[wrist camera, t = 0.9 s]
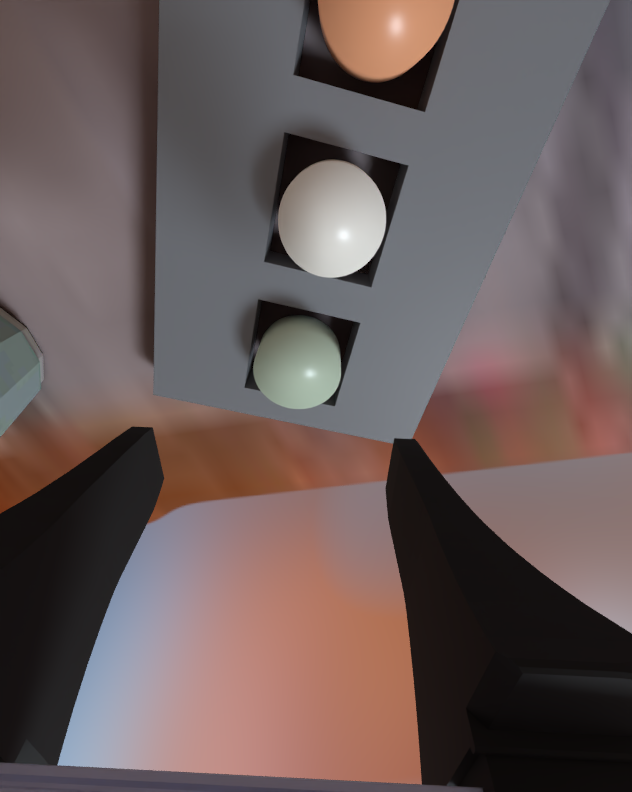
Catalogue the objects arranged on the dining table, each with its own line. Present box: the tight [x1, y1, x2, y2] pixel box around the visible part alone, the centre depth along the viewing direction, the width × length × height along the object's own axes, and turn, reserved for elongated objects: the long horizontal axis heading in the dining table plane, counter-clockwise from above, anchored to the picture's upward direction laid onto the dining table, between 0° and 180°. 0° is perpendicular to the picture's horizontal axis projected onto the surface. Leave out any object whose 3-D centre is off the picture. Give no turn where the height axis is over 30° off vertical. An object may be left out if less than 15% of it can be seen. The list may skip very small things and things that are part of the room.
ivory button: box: [278, 159, 386, 278], centre depth 16 cm, size 4×4×2 cm
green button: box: [253, 315, 341, 409], centre depth 19 cm, size 4×4×2 cm
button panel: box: [153, 0, 610, 443], centre depth 17 cm, size 14×21×2 cm, turn 167°
